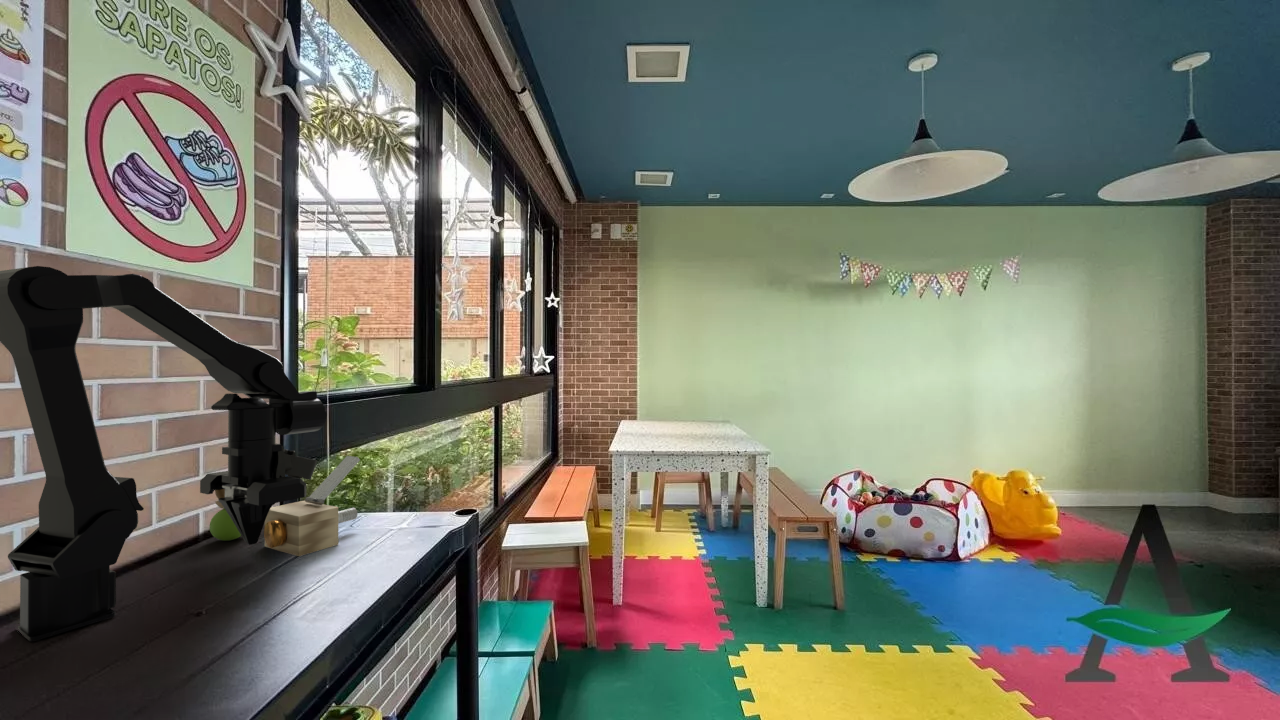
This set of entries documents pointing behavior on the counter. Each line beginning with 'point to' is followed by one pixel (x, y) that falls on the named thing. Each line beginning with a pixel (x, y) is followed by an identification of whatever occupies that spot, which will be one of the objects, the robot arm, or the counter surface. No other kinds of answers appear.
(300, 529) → the block
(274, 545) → the pin
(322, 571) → the counter surface
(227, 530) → the snail figurine
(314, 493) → the bar
